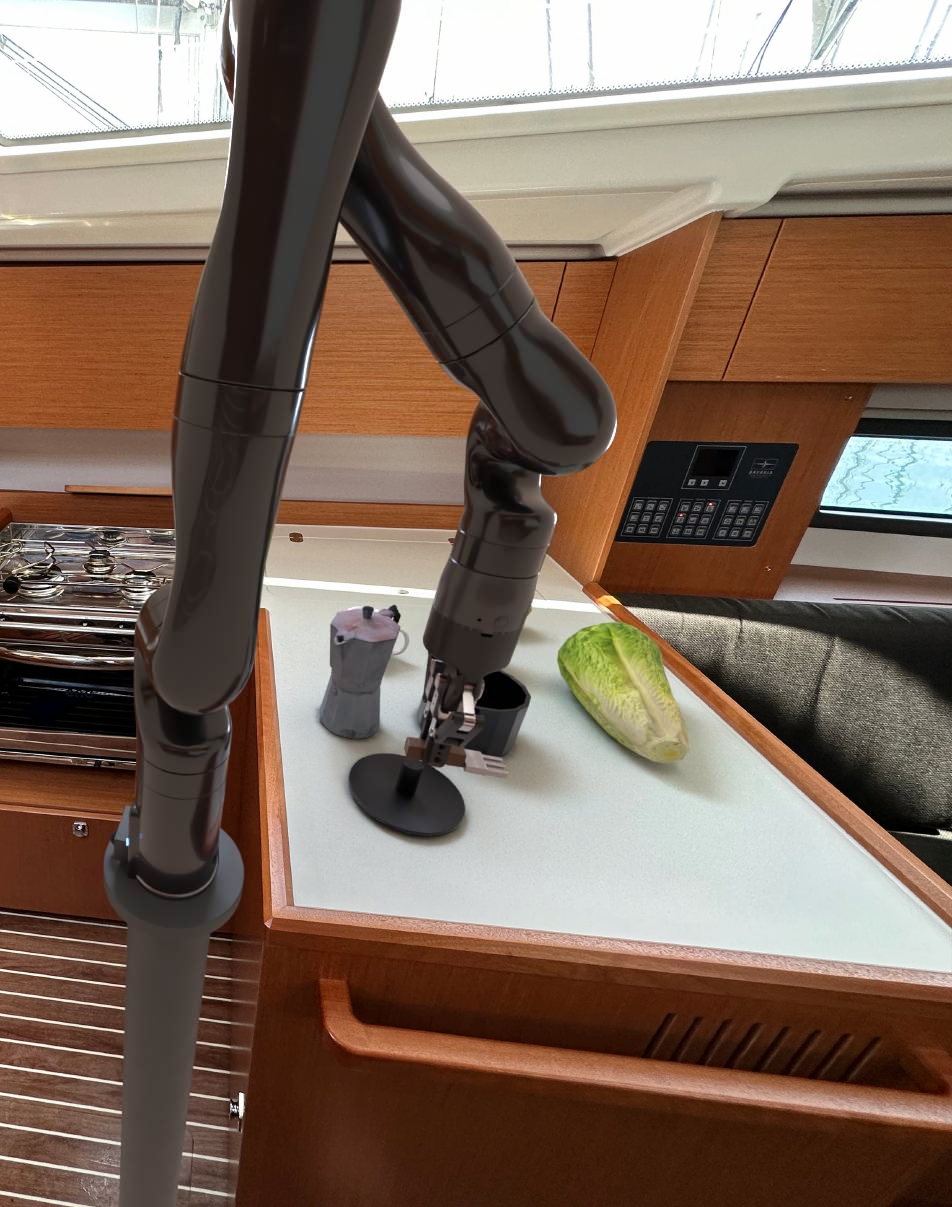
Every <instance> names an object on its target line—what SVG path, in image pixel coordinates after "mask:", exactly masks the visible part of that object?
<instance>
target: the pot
mask: <svg viewBox="0 0 952 1207" xmlns="http://www.w3.org/2000/svg"><path fill="white" fill-rule="evenodd" d="M483 680H484V690H483V693H482V696H481V698H480V699H478V700H477V702H476V705H475V708H474V711H475V714H476V715H482V716H484V718H485V725H484V727H483V729H482V730H481V731H480V732H479V733H478V734H477V735H476V736H475V737H474V738H473V739H472V740H471V741H469V742H468V743H467V744H466V745H465V746H464V749H467V750H473V751H479V752H481V754H482V755H488V756H494V757H500V758H502V759H503V757H504V758H505V757H506V756H507V755H508V754H510V752H511V751H512V750H513V747H514V745H515V743H516V740H517V737H518V734H519V732H520V730H521V727H522V724H523V721H524V720H525V717H526V715H527V712H528V709H529V707H530V703H531V699H532V695H531V693H530V691H529V690H528V688H527V686H526V685H525V684H523V683H522V681H520V680H518V679H517V678H516V677H515V676H513V675H512V674H509V673H508V672H505V671H504V670H503V669H502V670H499V671H495V672H492V673H489V674H487V675H485V676H484V677H483ZM425 706H426V703H424V702H423V699H422V698H421V699H420V703H419V707H418V710H417V713H416V722H417V726H418V728H419V730H420V731H421V730H422V727H423V724H424V721H425V717H424V709H425Z"/></svg>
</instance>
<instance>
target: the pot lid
mask: <svg viewBox="0 0 952 1207" xmlns="http://www.w3.org/2000/svg"><path fill="white" fill-rule="evenodd" d="M347 781H348V787H349V790H350V793H351V795H352V797H353V798H354V800H355V802H357V804H358V805H359V806H360V808H361V809H363V810H364V811H365V812H366V813H367V814H368V815H370V816H371V817H373V818H374V819H375V820H377V821H378V822H380V823H382V824H383V825H386V826H388V827H390V828H392V829H394V830H397V831H399V832H403V833H407V834H410V835H417V836H427V837H429V836H430V837H431V836H432V837H433V836H440V835H444V834H447V833H450V832H451V831H453V830H455V829H457V827H459V825H461V823H462V821H463V819H464V818H465V814H466V805H465V800H464V797H463V795H462V793H461V792H460V790H459V789H458V787H457V786H456V784H454V782H452V780H451V779H450V778H449V777H448V776H446V774H444V773H442V772H441V771H440V770H438V769H437V768H436V767H434V766H428V765H424V764H423V763H422V761H421V760H416V759H410V758H406V756H405V754H404V755H403V754H398V753H392V752H391V753H390V752H378V753H372V754H368V755H365V756H363V757H361V758H359V759H358V760H356V762H354V764H352V766H351V767H350V770H349V774H348V780H347Z"/></svg>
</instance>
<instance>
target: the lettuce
mask: <svg viewBox="0 0 952 1207" xmlns="http://www.w3.org/2000/svg"><path fill="white" fill-rule="evenodd" d="M556 661H557V665H558V669H559V673H560V676H561V677H562V679H563V680H564V681H565V683H566V685H567V686H568V688H569V690H570V691H571V693H572V694H573V696H575V698H576V699H577V700H578V701H579V702H580V704H581V705H582V706H583V708H584V709H585V710H586V712H588V714H589V715H590V716H591V717H592V718H593V720H595V721H596V722H597V723H598V724H599V726H601V728H603V730H605V732H606V733H607V734H608V735H609V736H611V737H612V738H613V739H615V740H616V741H617V742H619V743H620V744H621V745H623V746H625V747H626V748H627V749H629V750H631V751H632V752H634V753H636V754H637V755H639V756H641V757H643V758H645V759H647V760H650V761H652V762H653V763H664V764H670V763H675V762H677V761H680V760H683V759H685V756H686V755H687V753H688V752H689V750H690V745H691V740H690V735H689V732H688V728H687V725H686V721H685V719H684V716H683V713H682V711H681V709H680V706H679V704H678V702H677V700H676V699H675V697H674V693H673V691H672V688H671V684H670V682H669V679H668V677H667V674H666V671H665V667H664V656H663V653H662V651H661V649H660V647H659V645H658V643H656V642H655V641H654V640H653V639H652V638H651V637H650V636H648V634H646V633H644V632H643V631H642V630H640V629H639V628H637V626H636V627H635V626H633V625H631V624H628V623H626V622H624V621H613V622H612V621H611V622H601V623H596V624H594V625H593V624H592V625H590V626H585V627H582V628H581V629H579V630H578V631H576V632H574V634H572V635H570V636H569V637H568V638H567V639H566V640H565V641H564V642H563V644H562V645H561V646H560V648H559V649H558V651H557V658H556Z"/></svg>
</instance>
